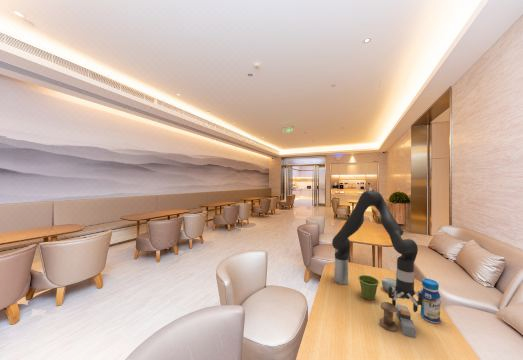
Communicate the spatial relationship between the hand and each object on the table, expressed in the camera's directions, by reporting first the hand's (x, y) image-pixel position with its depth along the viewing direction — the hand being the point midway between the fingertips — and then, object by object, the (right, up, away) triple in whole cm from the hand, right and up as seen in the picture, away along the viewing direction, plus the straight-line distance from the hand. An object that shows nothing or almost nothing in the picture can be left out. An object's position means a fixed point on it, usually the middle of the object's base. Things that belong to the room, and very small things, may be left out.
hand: (404, 308), depth 102 cm
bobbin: (-9, -8, -1) cm, 12 cm away
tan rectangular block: (0, -8, 0) cm, 8 cm away
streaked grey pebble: (+13, -8, +28) cm, 32 cm away
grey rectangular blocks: (0, -8, 0) cm, 8 cm away
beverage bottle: (+17, -8, +4) cm, 19 cm away
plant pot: (-6, -8, +23) cm, 25 cm away
